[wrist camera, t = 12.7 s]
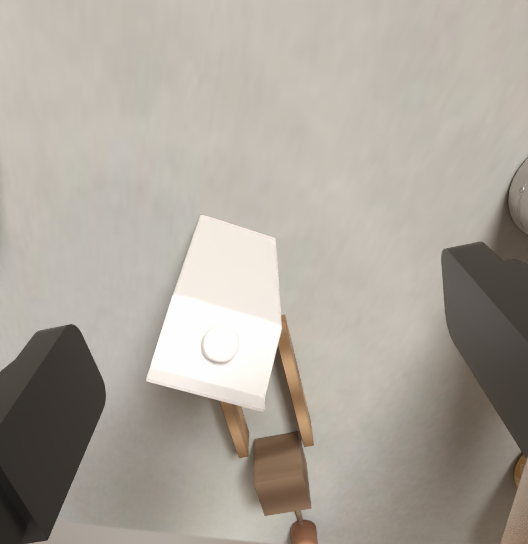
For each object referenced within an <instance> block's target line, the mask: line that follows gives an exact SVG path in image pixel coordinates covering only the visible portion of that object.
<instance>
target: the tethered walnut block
mask: <svg viewBox="0 0 528 544" xmlns="http://www.w3.org/2000/svg"><path fill="white" fill-rule="evenodd" d="M254 485H255V488H256V491H257V494H258V497H259V500H260V503H261V506H262V509H263V512H264V515H265V516H267V515H274V514H280V513H286V512H292V511H295V512H296V515H297V519H298V521H297V522H295V523H293V524H292V526H291V542H292V544H318V540H317V531H316V526H315V524H314V523H313V522H311V521H308V520H303V518H302V515H301V511H300V510H305V509H311V501H310V492H309V482H308V472H307V463H306V459H305V456H304V452H303V448H302V444H301V440H300V437H299V433H298V432H293V433H287V434H281V435H276V436H270V437H264V438H259V439H255V444H254Z"/></svg>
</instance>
